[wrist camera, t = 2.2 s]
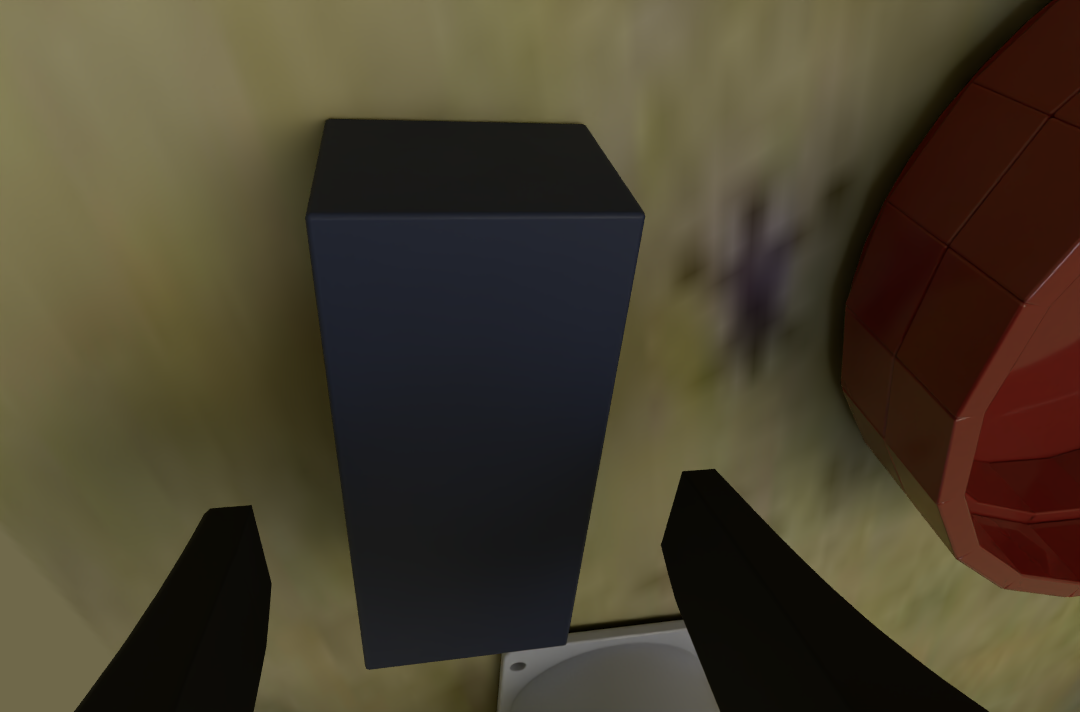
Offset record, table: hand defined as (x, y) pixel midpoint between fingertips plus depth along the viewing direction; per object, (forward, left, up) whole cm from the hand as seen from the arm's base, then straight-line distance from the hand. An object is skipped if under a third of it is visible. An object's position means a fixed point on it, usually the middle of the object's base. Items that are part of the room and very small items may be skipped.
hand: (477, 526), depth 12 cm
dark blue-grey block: (0, 0, -5) cm, 5 cm away
